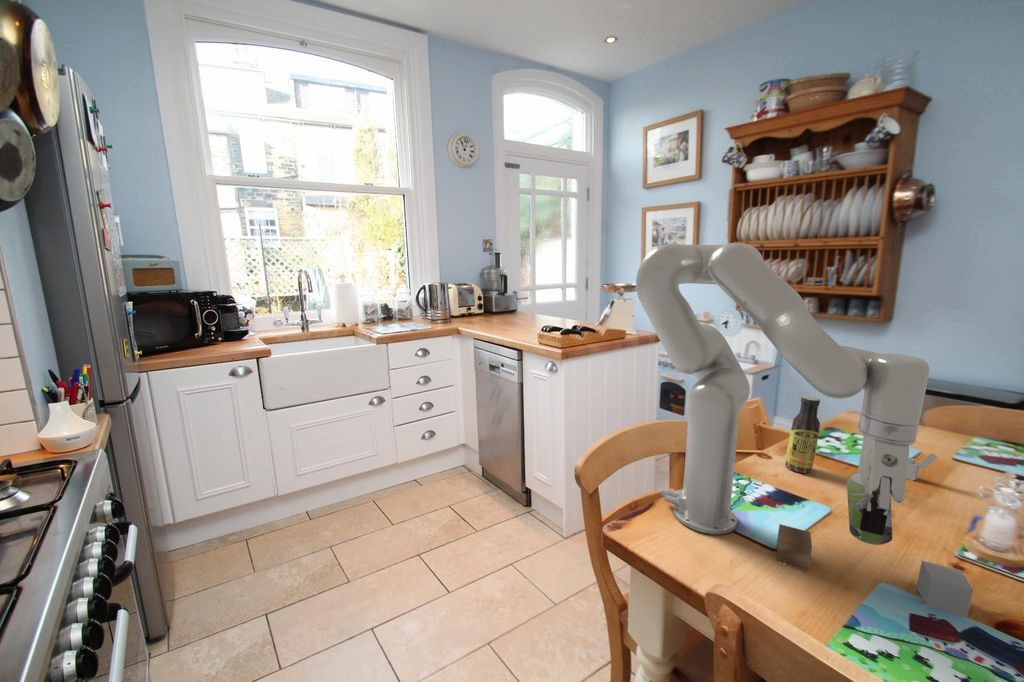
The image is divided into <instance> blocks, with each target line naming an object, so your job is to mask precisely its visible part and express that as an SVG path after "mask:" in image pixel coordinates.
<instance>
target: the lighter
mask: <svg viewBox="0 0 1024 682" xmlns="http://www.w3.org/2000/svg"><path fill="white" fill-rule="evenodd" d="M937 458H938V456H937V455H936V454H934V453H933V452H932V453H930V454H928V456H927V457H925V458H924V459H923V460H922V461H921V462H920V463H919V462H915V460H916V459H915V458H912V457H910V456H909V463H908V472H907V478H909V479H912V480H916V479H917V480H918V478H919V477H918V476H919V472H920V468H921V469H923V470H925V469H927V468H928V467H929V466H930V465H931V464H933V462H934V461H935V460H937ZM909 479H908V480H909ZM912 480H911V481H912ZM917 480H916V481H917Z"/></svg>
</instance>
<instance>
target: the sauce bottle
mask: <svg viewBox="0 0 1024 682" xmlns="http://www.w3.org/2000/svg"><path fill="white" fill-rule="evenodd" d="M800 402H801V404H800V407H799V408H800V409H799V413H798V414H797V415H796V416H795V417H794V418H793V420H792V424H791V428H790V433H789V438H788V444H787V449H786V455H785V467H786V468H787V469H789V470H790V471H793V472H796V473H800V474H809V473H811V471H812V470H813V467H814V464H815V457H816V452H817V446H818V441H819V436H820V428H821V427H820V426H821V422H820V419H819V417H818V409H819V405H820V404H821V398H819V397H816V396H813V395H812V396H811V395H802V396H801V399H800Z"/></svg>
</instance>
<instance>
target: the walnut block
mask: <svg viewBox="0 0 1024 682" xmlns="http://www.w3.org/2000/svg"><path fill="white" fill-rule="evenodd" d="M778 525H779V526H778V532H777V539H776V546H777V553H776V552H775V553H776V555H777V556H776V557H775V559H776V560H775V561H778V562H777V563H779V562H781V563H780V564H783V563H785V564H784V565H786V564H787V566H789V565H791V566H790V567H793V566H794V567H793V568H796V567H797V568H796V569H799V570H804V571H807V572H809V570H810V565H811V556H812V550H813V544H812V543H813V542H812V537H811V536H812V535H811V531H808V530H804V529H799V528H796V527H792V526H789V525H785V524H782V523H781V524H780V523H779V524H778Z"/></svg>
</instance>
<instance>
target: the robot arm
mask: <svg viewBox="0 0 1024 682" xmlns="http://www.w3.org/2000/svg"><path fill="white" fill-rule="evenodd" d="M683 284H697V285H698V284H699V285H700V284H702V285H717V286H718V287H719V289H721V290H722V291H723V292H724V293H725V294H726V295H727V296H728V297H729V298H730V299H731V300H732V301H733V302H734V303H735V304H736V305H737V306H738V307H739V308H741V310H743V312H744V313H745V314H746V315H747V316H749V318H751V319H752V321H753V322H754V323H755V324H757V326H758V327H759V328H760V330H761V331H762V333H763V334H764V336H765V337H766V338H767V339H768V340H769V342H771V344H772V346H774V347H775V349H776V351H778V353H779V354H780V355H781V356H782V357H783V359H784V360H785V361H786V362H787V363H788V364H789V365H790V366H791V367H792V368H793V369H794V370H795V372H797V373H798V375H800V376H801V377H802V378H803V379H804V380H805V381H806V382H807V383H808V384H809V386H811V387H813V388H814V389H815V391H817V392H818V393H820V394H822V395H823V396H826V397H828V398H831V399H832V398H833V399H839V400H840V399H841V400H842V399H849V398H852V397H854V396H856V395H858V394H859V393H860V392H862V390H863V391H864V392H863V393H864V394H863V399H862V406H861V411H860V417H859V423H858V428H857V430H858V431H857V432H858V433H860V434H861V435H862V436H863V440H862V445H861V450H860V455H859V462H858V470H857V472H859V475H860V478H861V481H862V484H863V488H864V491H865V493H866V494H867V502H866V508H863V512H862V518H861V523H860V529H861V530H862V531H865V532H869V533H873V534H877V535H884V530H885V525H886V520H887V514H888V510H889V501H890V494H891V497H892V498H893V500H894V501H896V502H897V503H899V504H901V503H902V502H904V499H905V492H906V486H907V480H908V479H907V472H908V463H909V457H910V446H911V445H914V444H916V441H917V436H918V432H919V431H918V430H919V426H920V420H921V416H922V411H923V407H924V401H925V395H926V392H927V391H926V390H927V386H928V381H929V376H930V365H929V363H928V362H927V361H926V360H924V359H923V358H920V357H916V356H912V355H908V354H907V355H906V354H900V353H880V352H874V351H870V350H869V351H868V350H865V349H861V348H856V347H852V346H847V345H840V344H839V343H837V341H835V340H834V339H833V337H831V335H829V334H828V333H827V332H826V331H825V330H824V328H823V327H822V326H821V325H820V324H819V323H818V322H817V321H816V319H815V318H814V317H813V315H812V314H811V313H810V310H809V309H808V307H807V304H806V303H805V301H804V299H803V298H802V296H801V295H800V294H799V293H798V291H797V290H795V289H794V288H793V287H792V286H791V285H790V284H789V283H787V281H785V280H784V279H783V278H782V277H781V276H780V275H779V274H777V273H776V272H775V271H774V269H772V268H771V267H770V266H769V264H767V263H766V262H765V261H764V259H763V256H762V254H761V251H759V250H758V249H757V248H756V247H755V246H753V245H751V244H748V243H744V242H743V243H742V242H731V243H726V244H681V243H680V244H678V243H665V244H662V245H658V246H656V247H655V248H653V249H652V250H651V251H649V252H648V253H647V254H646V256H645V257H644V258H643V260H642V261H641V262H640V264H639V267H638V269H637V274H636V279H635V288H636V289H635V290H636V293H637V297H638V300H639V303H640V304H641V307H642V308H643V310H644V312H645V314H646V315H647V318H648V319H649V321H650V323H651V325H652V326H653V329H654V331H655V333H656V336H657V337H658V339H659V341H660V343H661V345H662V347H663V349H664V350H665V353H666V355H667V357H668V359H669V361H670V363H671V364H672V365H673V367H674V368H675V369H676V370H677V371H679V372H680V373H683V374H689V375H692V374H695V377H696V378H697V379H698V381H696V382H695V383H694V385H692V387H691V388H690V391H689V392H688V396H687V400H686V417H687V420H686V421H687V430H686V431H687V432H686V444H685V447H686V449H685V458H684V459H685V461H684V472H683V483H682V485H683V486H682V489H681V490H680V489H677V490H674V489H671V488H667V487H662V488H661V493H660V495H661V497H664V502H667V503H672V504H673V509H672V510H673V515H674V517H675V518H676V519H677V520H678V521H679V523H681V524H682V525H684V526H685V527H688V528H690V529H691V530H693V531H697V532H700V533H704V534H708V535H726V534H728V533H731V532H733V531H734V530H735V529H736V528H737V526H738V518H737V516H736V514H735V513H734V512H733V511H732V510H731V502H732V494H733V493H732V491H733V484H734V483H733V482H734V475H735V464H736V457H737V454H736V453H737V445H738V419H739V414H740V410H741V409H742V408H743V407H744V405H745V404H746V403H747V401H748V399H749V397H750V394H751V386H750V383H749V380H748V377H747V376H746V373H745V372H744V369H743V368H742V367H741V364H740V363H739V361H738V358H737V357H736V355H735V353H734V352H733V350H732V348H731V346H730V344H729V343H728V341H727V339H726V338H725V336H724V335H723V334H722V333H721V332H720V330H718V329H717V328H715V327H714V326H712V325H709V324H706V323H700V322H699V320H698V318H697V317H696V314H695V313H694V311H693V308H692V306H691V305H690V303H689V302H688V300H687V299H686V298H685V297H684V295H683V294H682V293H681V291H680V287H679V285H683ZM873 491H876V492H878V494H876V493H873ZM873 498H875V499H878V501H877V502H876V501H874V502H873V503H872V499H873Z"/></svg>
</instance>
